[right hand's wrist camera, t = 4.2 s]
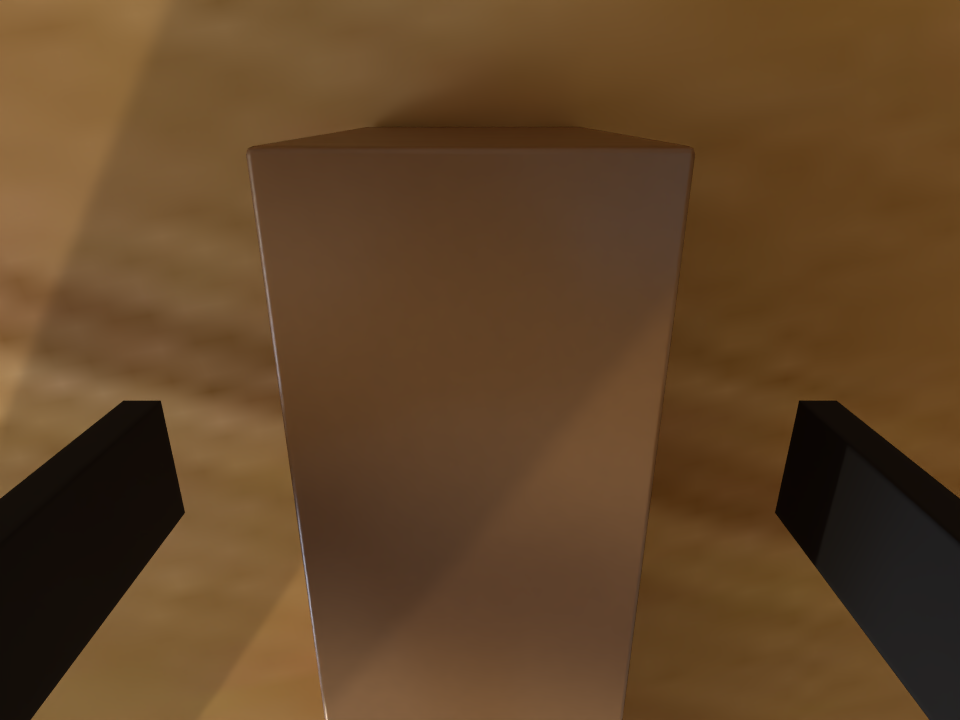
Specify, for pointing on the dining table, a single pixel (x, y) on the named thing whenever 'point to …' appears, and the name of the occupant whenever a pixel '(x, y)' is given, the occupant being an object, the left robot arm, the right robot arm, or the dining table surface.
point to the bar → (472, 405)
